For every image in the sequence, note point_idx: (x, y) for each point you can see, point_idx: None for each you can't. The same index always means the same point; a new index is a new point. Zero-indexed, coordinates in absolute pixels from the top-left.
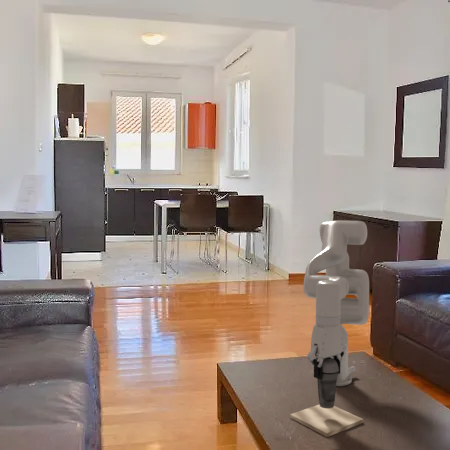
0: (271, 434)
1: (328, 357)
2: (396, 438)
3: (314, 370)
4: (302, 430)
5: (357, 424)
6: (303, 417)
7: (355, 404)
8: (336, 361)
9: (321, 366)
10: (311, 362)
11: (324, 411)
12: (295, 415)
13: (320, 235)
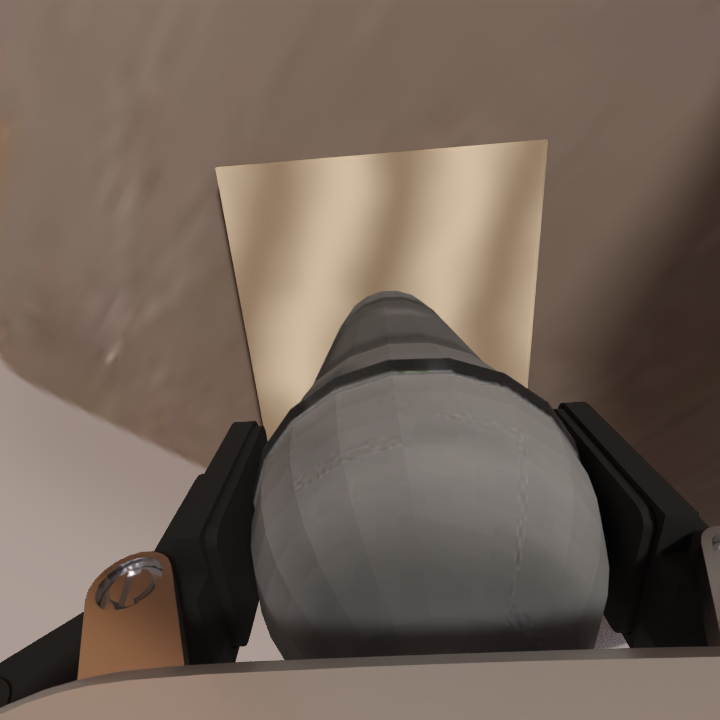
0: (32, 281)
1: (545, 633)
2: None
3: (175, 524)
4: (205, 329)
5: None
6: (263, 252)
7: (695, 236)
8: (638, 602)
9: (262, 612)
10: (12, 663)
11: (427, 255)
12: (235, 201)
13: None
